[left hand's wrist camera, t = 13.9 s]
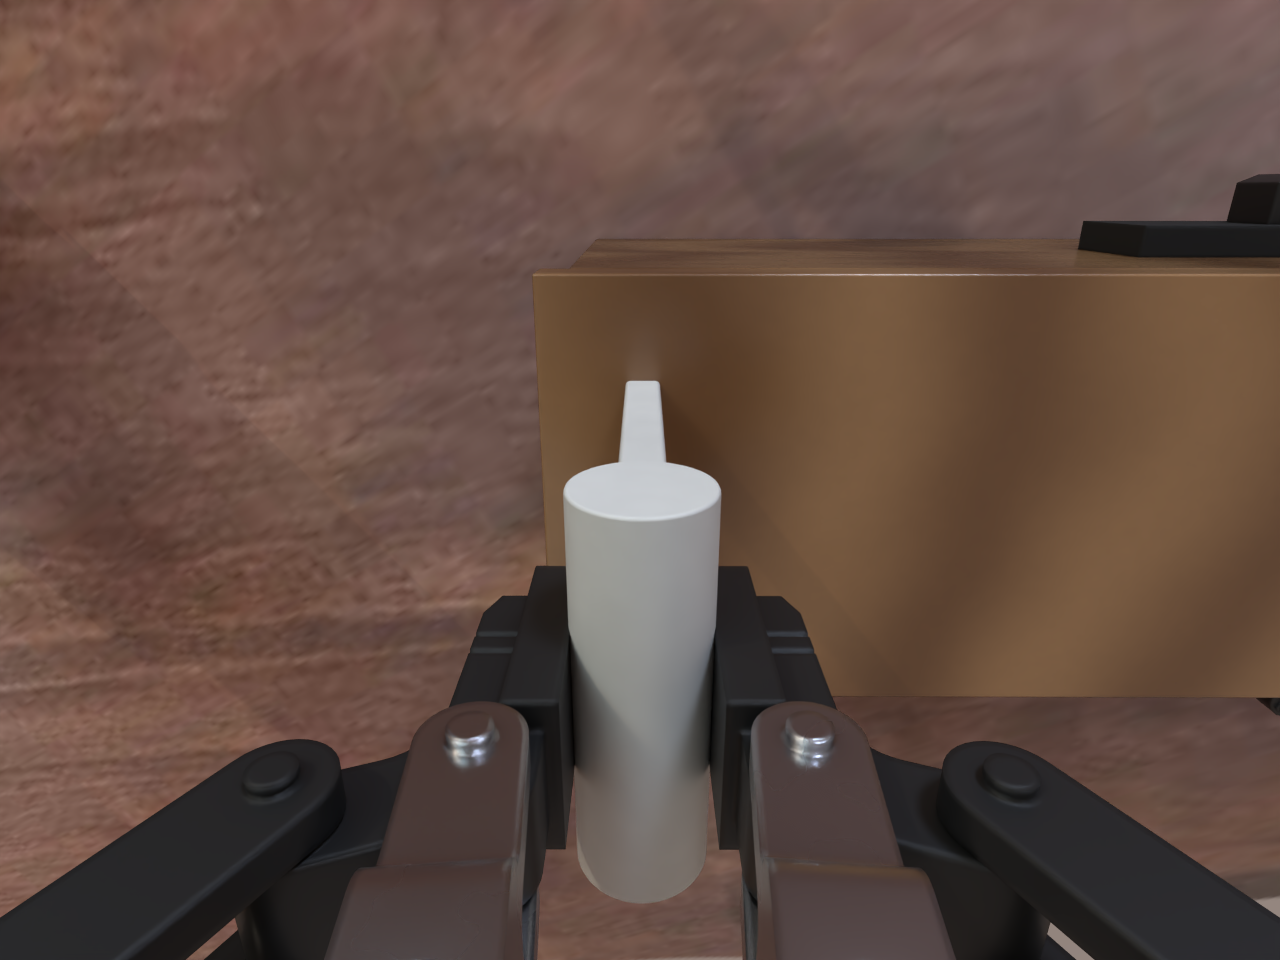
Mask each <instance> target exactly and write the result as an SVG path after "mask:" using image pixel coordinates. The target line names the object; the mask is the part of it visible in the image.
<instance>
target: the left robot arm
mask: <svg viewBox="0 0 1280 960" xmlns="http://www.w3.org/2000/svg"><path fill="white" fill-rule="evenodd" d="M709 766H710V774H711V783H712V791H713V799H714V808H715V816H716V825H717V833H718V842H719V850H739V852H740V859H741V865H742V881H741V897H740V908H741V932H742V955H743V960H1076V959H1075V958H1074V957H1072V956H1071V955H1070V954H1069V953H1068V952H1067V951H1065V950H1064V949H1063V948H1062V947H1061V946H1060V945H1059V944H1058V943H1056V942H1055V941H1054V940H1053V939H1052V938H1051V937H1049V936H1048V935H1047V933H1048V929H1049V925H1050V922H1051V923H1052V924H1053V925H1055V926H1056V927H1057V928H1058V929H1059V930H1060V931H1062V932H1063V933H1064V934H1065V935H1066V936H1067V937H1069V938H1070V939H1071V940H1072V941H1073V942H1074V943H1076V944H1077V945H1078V946H1079V947H1080V948H1081V949H1083V950H1084V951H1085V952H1086V953H1087V954H1088V955H1090V956H1091V957H1092V958H1093V959H1094V960H1280V918H1279V917H1278V916H1276V915H1275V914H1273V913H1272V912H1271V911H1269V910H1268V909H1266V908H1265V907H1263V906H1262V905H1260V904H1259V903H1257V902H1256V901H1254V900H1253V899H1251V898H1250V897H1248V896H1247V895H1245V894H1244V893H1242V892H1241V891H1239V890H1238V889H1236V888H1235V887H1233V886H1232V885H1230V884H1229V883H1227V882H1226V881H1224V880H1223V879H1221V878H1220V877H1218V876H1217V875H1215V874H1214V873H1212V872H1211V871H1209V870H1208V869H1207V868H1205V867H1204V866H1202V865H1201V864H1199V863H1198V862H1196V861H1195V860H1193V859H1192V858H1190V857H1189V856H1187V855H1186V854H1184V853H1183V852H1181V851H1180V850H1178V849H1177V848H1175V847H1174V846H1172V845H1171V844H1169V843H1168V842H1166V841H1165V840H1163V839H1162V838H1160V837H1159V836H1157V835H1156V834H1154V833H1153V832H1151V831H1150V830H1148V829H1147V828H1146V827H1144V826H1143V825H1141V824H1140V823H1138V822H1137V821H1135V820H1134V819H1132V818H1131V817H1129V816H1128V815H1126V814H1125V813H1123V812H1122V811H1120V810H1119V809H1117V808H1116V807H1114V806H1113V805H1111V804H1110V803H1108V802H1107V801H1105V800H1104V799H1102V798H1101V797H1099V796H1098V795H1096V794H1095V793H1093V792H1092V791H1090V790H1089V789H1087V788H1086V787H1084V786H1083V785H1082V784H1080V783H1079V782H1077V781H1076V780H1074V779H1073V778H1071V777H1070V776H1068V775H1067V774H1065V773H1064V772H1062V771H1061V770H1059V769H1058V768H1056V767H1055V766H1053V765H1052V764H1050V763H1049V762H1047V761H1045V760H1044V759H1042V758H1040V757H1039V756H1037V755H1035V754H1033V753H1031V752H1029V751H1026V750H1024V749H1021V748H1018V747H1015V746H1012V745H1008V744H1004V743H998V742H989V741H976V742H969V743H965V744H962V745H959V746H957V747H955V748H954V749H952V750H951V751H950V752H949V753H948V754H947V755H946V757H945V759H944V762H943V767H942V769H938V768H934V767H930V766H925V765H921V764H917V763H912V762H908V761H904V760H900V759H897V758H893V757H890V756H888V755H885V754H882V753H880V752H878V751H876V750H874V749H872V748H870V746H869V743H868V740H867V737H866V735H865V733H864V732H863V730H862V729H861V727H860V726H859V725H858V724H857V723H856V722H855V721H853V720H852V719H851V718H850V717H848V716H847V715H845V714H843V713H842V712H840V711H838V710H837V709H836V706H835V703H834V701H833V698H832V695H831V693H830V690H829V687H828V685H827V682H826V679H825V677H824V674H823V671H822V669H821V666H820V663H819V661H818V658H817V655H816V654H814V647H813V645H812V642H811V639H810V637H808V632H807V629H806V626H805V624H804V621H803V618H802V616H801V613H800V612H799V611H798V610H796V609H795V608H794V607H793V606H792V605H791V604H790V603H789V602H787V601H786V600H785V599H784V598H783V597H782V596H756V592H755V589H754V585H753V582H752V578H751V575H750V571H749V568H748V566H718V586H717V610H716V628H715V640H714V664H713V688H712V712H711V736H710V760H709ZM574 768H575V758H574V732H573V707H572V681H571V656H570V632H569V627H568V604H567V579H566V566H536V568H535V571H534V575H533V578H532V582H531V586H530V589H529V593H528V596H502V597H501V598H500V599H499V600H498V601H496V602H495V603H494V604H493V605H492V606H491V607H490V608H489V609H487V610H486V611H485V612H484V613H483V616H482V618H481V621H480V624H479V627H478V629H477V632H476V637H475V638H474V640H473V643H472V646H471V648H470V653H469V654H468V657H467V659H466V662H465V665H464V668H463V670H462V673H461V676H460V678H459V681H458V684H457V687H456V689H455V692H454V695H453V698H452V700H451V703H450V706H449V708H447V709H444V710H442V711H440V712H438V713H437V714H435V715H433V716H432V717H430V718H429V719H428V720H427V721H425V722H424V723H423V724H422V725H421V726H420V727H419V729H418V730H417V732H416V733H415V735H414V737H413V740H412V743H411V746H410V750H409V751H407V752H405V753H402V754H400V755H397V756H394V757H391V758H388V759H384V760H381V761H376V762H372V763H368V764H363V765H359V766H355V767H350V768H346V769H342V770H341V767H340V761H339V758H338V756H337V754H336V752H335V751H334V750H333V749H332V748H331V747H329V746H327V745H326V744H323V743H321V742H318V741H313V740H305V739H295V740H285V741H280V742H275V743H272V744H268V745H265V746H262V747H259V748H257V749H254V750H252V751H250V752H248V753H246V754H244V755H242V756H241V757H239V758H238V759H236V760H234V761H233V762H231V763H230V764H228V765H227V766H225V767H224V768H222V769H221V770H219V771H218V772H216V773H215V774H213V775H212V776H210V777H209V778H207V779H206V780H204V781H203V782H201V783H200V784H199V785H197V786H196V787H194V788H193V789H191V790H190V791H188V792H187V793H185V794H184V795H182V796H181V797H179V798H178V799H176V800H175V801H173V802H172V803H170V804H169V805H167V806H166V807H164V808H163V809H161V810H160V811H158V812H157V813H155V814H154V815H152V816H151V817H149V818H148V819H146V820H145V821H143V822H142V823H140V824H139V825H137V826H136V827H135V828H133V829H132V830H130V831H129V832H127V833H126V834H124V835H123V836H121V837H120V838H118V839H117V840H115V841H114V842H112V843H111V844H109V845H108V846H106V847H105V848H103V849H102V850H100V851H99V852H97V853H96V854H94V855H93V856H91V857H90V858H88V859H87V860H85V861H84V862H82V863H81V864H79V865H78V866H76V867H75V868H73V869H72V870H71V871H69V872H68V873H66V874H65V875H63V876H62V877H60V878H59V879H57V880H56V881H54V882H53V883H51V884H50V885H48V886H47V887H45V888H44V889H42V890H41V891H39V892H38V893H36V894H35V895H33V896H32V897H30V898H29V899H27V900H26V901H24V902H23V903H21V904H20V905H18V906H17V907H15V908H14V909H12V910H11V911H10V912H8V913H7V914H5V915H4V916H2V917H1V918H0V960H186V959H187V958H188V957H189V956H190V955H192V954H193V953H194V952H195V951H196V950H197V949H199V948H200V947H201V946H202V945H203V944H204V943H206V942H207V941H208V940H209V939H210V938H211V937H213V936H214V935H215V934H216V933H217V932H218V931H220V930H221V929H222V928H223V927H224V926H225V925H227V924H228V923H229V922H230V921H231V920H232V919H234V918H235V920H236V924H237V927H238V930H237V931H236V932H235V933H234V934H233V935H232V936H230V937H229V938H228V939H227V940H226V941H225V942H224V943H222V944H221V945H220V946H219V947H218V948H217V949H216V950H214V951H213V952H212V953H211V954H210V955H209V956H208V957H206V958H205V959H204V960H537V955H538V932H539V908H540V897H539V884H540V881H541V878H542V874H543V867H544V860H545V853H546V849H565V848H566V839H567V830H568V821H569V812H570V803H571V794H572V785H573V777H574Z"/></svg>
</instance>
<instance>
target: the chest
mask: <svg viewBox="0 0 1280 960" xmlns="http://www.w3.org/2000/svg"><path fill="white" fill-rule="evenodd" d="M1079 241H1080V239H597V240H595V242H594V243H593V244H592V245H591V246H590V247H589V248H588V249H587V250H586V251H585V252H584V254H583V255H582V256H581V257H580V258H579V259H578V260H577V261H576V262H575V263H574V264H573V265H572V266H571V268H570V269H1280V258H1138V257H1131V256H1124V255H1116V254H1109V253H1102V252H1094V251H1087V250H1080V249H1078V246H1079Z"/></svg>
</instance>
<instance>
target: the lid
mask: <svg viewBox="0 0 1280 960" xmlns="http://www.w3.org/2000/svg"><path fill="white" fill-rule="evenodd" d="M532 282H533V302H534V322H535V342H536V362H537V382H538V402H539V422H540V442H541V462H542V482H543V502H544V522H545V542H546V562H547V566H566V579H567V604H568V627H569V632H570V656H571V681H572V707H573V732H574V758H575V768H574V780H575V805H576V831H577V853H578V860H579V863H580V866H581V868H582V870H583V872H584V874H585V875H586V877H587V878H588V880H589V881H590V882H591V883H592V884H593V885H594V886H595V887H596V888H598V889H599V890H600V891H601V892H603V893H605V894H606V895H608V896H610V897H613V898H615V899H618V900H621V901H625V902H630V903H654V902H659V901H663V900H666V899H669V898H671V897H674V896H676V895H677V894H679V893H681V892H682V891H684V890H685V889H686V888H688V887H689V886H690V885H691V884H692V883H693V882H694V881H695V879H696V878H697V876H698V875H699V874H700V872H701V870H702V868H703V865H704V862H705V858H706V848H707V824H708V800H709V776H710V766H709V760H710V736H711V712H712V688H713V664H714V640H715V628H716V610H717V586H718V566H748V568H749V571H750V575H751V578H752V582H753V585H754V589H755V592H756V596H782V597H783V598H784V599H785V600H786V601H787V602H789V603H790V604H791V605H792V606H793V607H794V608H795V609H796V610H798V611H799V612H800V613H801V616H802V618H803V621H804V624H805V626H806V629H807V632H808V637H810V639H811V642H812V645H813V647H814V654H816V655H817V658H818V661H819V663H820V666H821V669H822V671H823V674H824V677H825V679H826V682H827V685H828V687H829V690H830V693H831V695H832V696H850V697H1196V698H1280V269H539V270H538V271H537V272H535V273H534V274H533V276H532Z"/></svg>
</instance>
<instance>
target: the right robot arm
mask: <svg viewBox="0 0 1280 960" xmlns="http://www.w3.org/2000/svg"><path fill="white" fill-rule="evenodd" d="M1078 249H1080V250H1087V251H1094V252H1102V253H1109V254H1116V255H1124V256H1131V257H1138V258H1280V174H1261V175H1256V176H1254V177H1251V178H1249V179H1246V180H1243V181H1241V182H1238V183H1237V185H1236V189H1235V192H1234V196H1233V200H1232V204H1231V207H1230V211H1229V215H1228V219H1227V221H1083V226H1082V231H1081V236H1080V241H1079V246H1078ZM1256 699H1258V700H1259V701H1260V702H1261V703H1263V704H1264V705H1265V706H1266V707H1268V708H1269V709H1270V710H1271V711H1272V712H1274V713H1275V714H1276V715H1279V716H1280V698H1256Z"/></svg>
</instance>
